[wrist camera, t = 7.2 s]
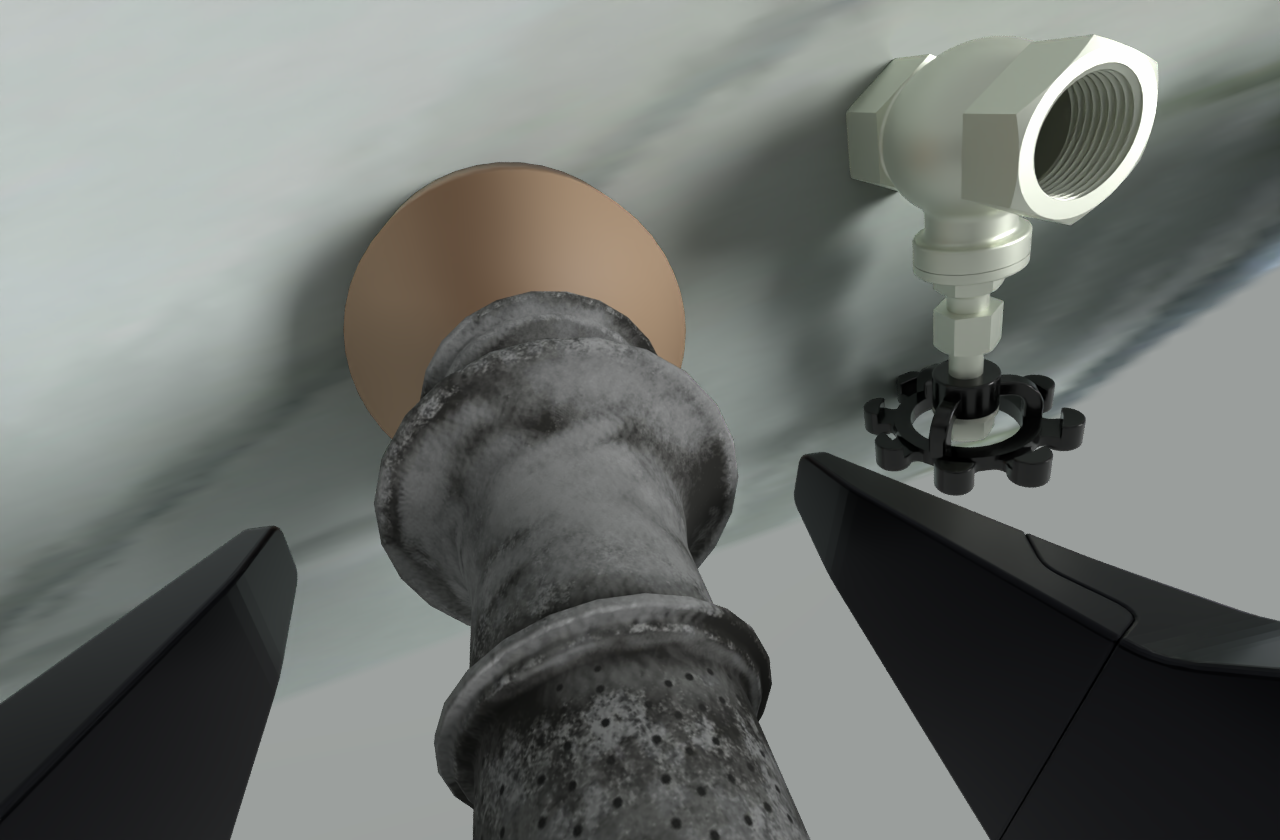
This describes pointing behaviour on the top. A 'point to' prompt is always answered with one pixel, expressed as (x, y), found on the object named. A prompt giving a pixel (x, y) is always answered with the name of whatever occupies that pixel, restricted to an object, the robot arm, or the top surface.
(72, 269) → the top surface
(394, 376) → the tan round disc
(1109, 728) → the robot arm
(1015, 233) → the valve
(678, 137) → the top surface
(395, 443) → the salt shaker
